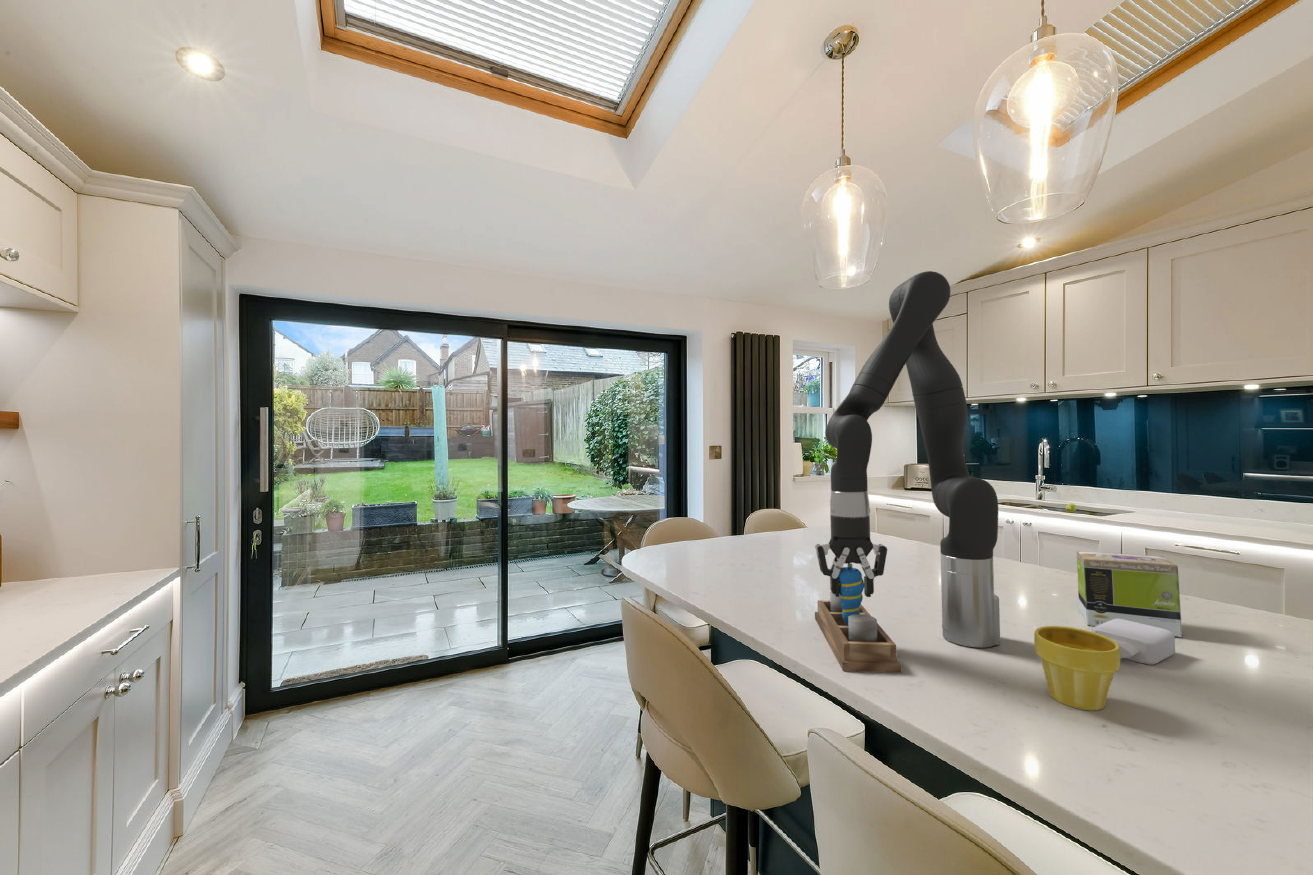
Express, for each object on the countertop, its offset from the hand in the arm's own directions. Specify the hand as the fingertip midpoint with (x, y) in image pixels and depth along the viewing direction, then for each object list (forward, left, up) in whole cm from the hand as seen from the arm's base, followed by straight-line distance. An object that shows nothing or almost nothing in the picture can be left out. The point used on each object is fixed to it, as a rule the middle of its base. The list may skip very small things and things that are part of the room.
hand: (851, 595), depth 104 cm
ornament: (+1, 0, -8) cm, 8 cm away
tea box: (-60, -14, -10) cm, 63 cm away
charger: (-48, +3, -10) cm, 49 cm away
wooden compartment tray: (0, 0, -9) cm, 9 cm away
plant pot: (-28, +21, -10) cm, 37 cm away
